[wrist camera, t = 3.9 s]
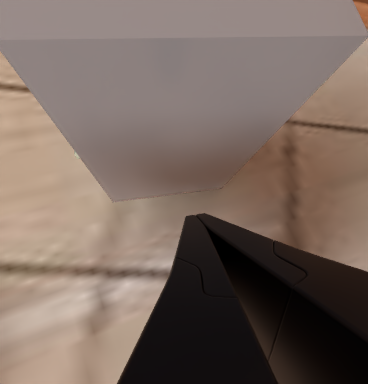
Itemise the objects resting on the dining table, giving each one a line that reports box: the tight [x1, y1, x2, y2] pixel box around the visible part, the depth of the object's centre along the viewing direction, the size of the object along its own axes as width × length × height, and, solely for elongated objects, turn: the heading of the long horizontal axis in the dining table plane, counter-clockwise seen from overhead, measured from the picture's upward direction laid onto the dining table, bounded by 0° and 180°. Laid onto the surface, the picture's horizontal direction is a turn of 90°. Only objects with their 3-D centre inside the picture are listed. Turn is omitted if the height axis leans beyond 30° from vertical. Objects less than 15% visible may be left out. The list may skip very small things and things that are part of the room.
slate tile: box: [0, 0, 368, 202], centre depth 12 cm, size 3×9×14 cm, turn 99°
